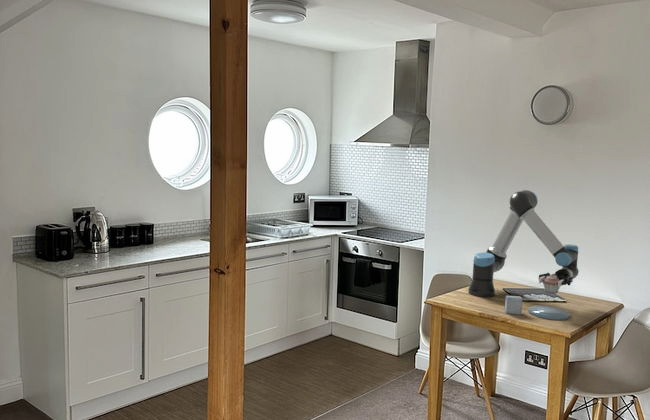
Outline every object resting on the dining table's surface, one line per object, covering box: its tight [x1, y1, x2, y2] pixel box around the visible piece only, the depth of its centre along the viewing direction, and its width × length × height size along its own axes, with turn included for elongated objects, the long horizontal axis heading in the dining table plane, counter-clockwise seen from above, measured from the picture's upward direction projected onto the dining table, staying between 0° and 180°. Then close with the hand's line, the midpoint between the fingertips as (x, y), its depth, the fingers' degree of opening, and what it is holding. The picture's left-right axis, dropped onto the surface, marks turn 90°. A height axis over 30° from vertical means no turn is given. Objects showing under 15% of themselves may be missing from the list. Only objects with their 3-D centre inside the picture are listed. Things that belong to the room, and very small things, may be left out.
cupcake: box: [542, 273, 561, 295], centre depth 315 cm, size 9×9×10 cm
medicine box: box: [504, 295, 523, 315], centre depth 316 cm, size 8×4×9 cm, turn 84°
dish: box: [528, 305, 570, 321], centre depth 317 cm, size 20×20×2 cm
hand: (549, 282), depth 311 cm, fingers closed on cupcake, 9 cm apart
